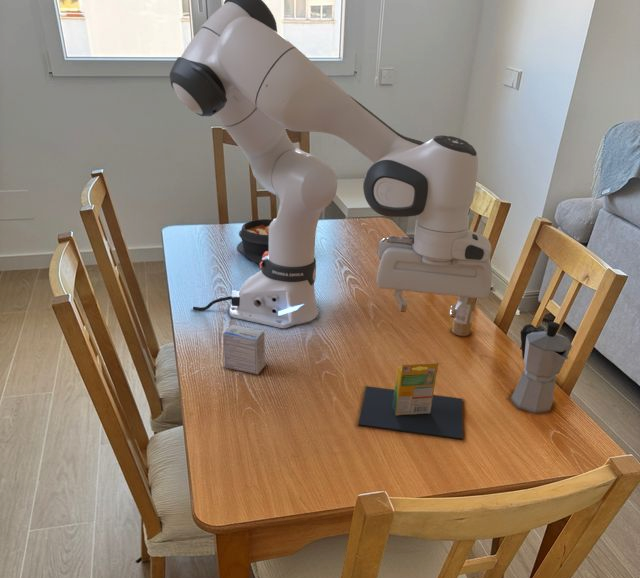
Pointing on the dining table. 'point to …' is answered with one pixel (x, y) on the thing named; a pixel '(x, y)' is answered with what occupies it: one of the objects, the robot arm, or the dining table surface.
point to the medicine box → (244, 349)
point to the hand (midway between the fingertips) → (427, 313)
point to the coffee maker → (540, 366)
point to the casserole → (254, 239)
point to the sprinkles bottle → (464, 318)
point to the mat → (412, 415)
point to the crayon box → (414, 389)
